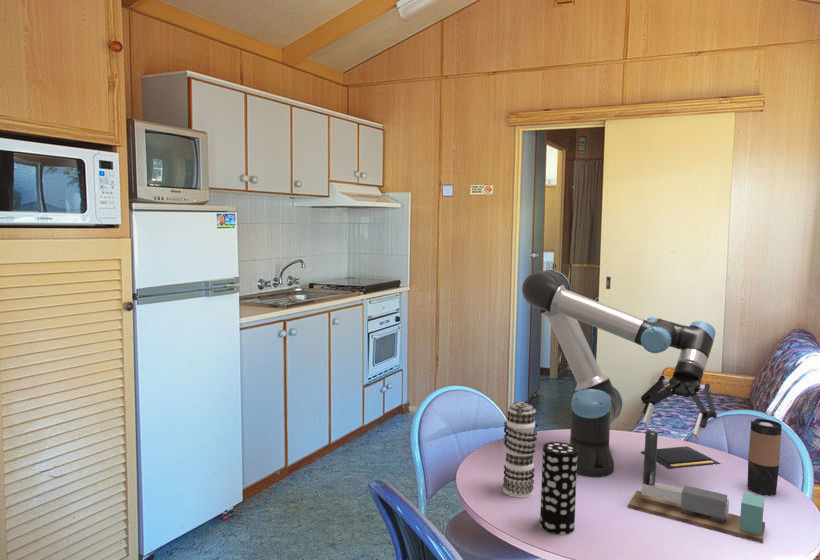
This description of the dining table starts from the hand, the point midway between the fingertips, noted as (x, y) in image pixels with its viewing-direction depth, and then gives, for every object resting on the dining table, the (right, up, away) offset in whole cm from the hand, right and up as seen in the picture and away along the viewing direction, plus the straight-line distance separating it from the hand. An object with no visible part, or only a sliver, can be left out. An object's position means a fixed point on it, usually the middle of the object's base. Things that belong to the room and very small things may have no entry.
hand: (669, 430), depth 164 cm
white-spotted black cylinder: (-36, -20, -17) cm, 44 cm away
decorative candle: (-42, -18, +2) cm, 45 cm away
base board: (+2, -20, -11) cm, 22 cm away
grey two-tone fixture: (-1, -16, -10) cm, 19 cm away
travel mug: (+29, -19, +6) cm, 35 cm away
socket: (+12, -20, -18) cm, 30 cm away
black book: (+16, -17, +30) cm, 38 cm away
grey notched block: (+3, -20, -12) cm, 23 cm away
